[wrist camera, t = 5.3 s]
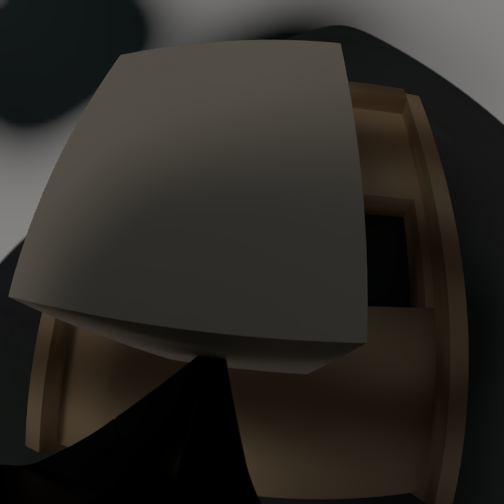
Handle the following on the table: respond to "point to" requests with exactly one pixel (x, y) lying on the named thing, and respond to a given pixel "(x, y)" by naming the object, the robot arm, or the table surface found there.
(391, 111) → the wooden tray
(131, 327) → the cream block
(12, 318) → the table surface
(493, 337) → the table surface
